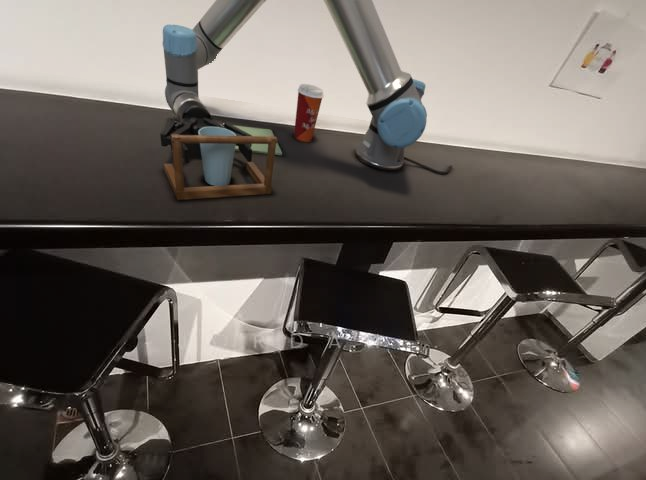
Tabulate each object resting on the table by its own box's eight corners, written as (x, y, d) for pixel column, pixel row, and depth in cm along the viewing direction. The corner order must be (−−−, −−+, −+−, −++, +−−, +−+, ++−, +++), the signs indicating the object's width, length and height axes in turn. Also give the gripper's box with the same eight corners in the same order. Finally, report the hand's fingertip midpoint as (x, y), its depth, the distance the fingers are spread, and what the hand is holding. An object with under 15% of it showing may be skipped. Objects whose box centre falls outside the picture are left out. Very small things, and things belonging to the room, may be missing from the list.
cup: (231, 192, 76) (232, 145, 68) (195, 184, 75) (193, 136, 68) (237, 177, 81) (239, 131, 74) (205, 170, 80) (203, 123, 73)
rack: (252, 168, 86) (256, 115, 77) (271, 193, 79) (278, 138, 70) (164, 171, 76) (157, 110, 67) (177, 200, 69) (172, 136, 61)
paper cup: (306, 145, 103) (315, 94, 94) (285, 135, 105) (293, 84, 96) (319, 139, 109) (329, 91, 99) (299, 130, 111) (307, 82, 101)
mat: (271, 131, 105) (271, 129, 105) (282, 155, 95) (282, 153, 94) (209, 124, 99) (209, 122, 98) (214, 149, 89) (214, 146, 88)
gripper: (241, 133, 93) (271, 171, 81) (139, 130, 81) (158, 174, 69) (242, 103, 87) (275, 139, 76) (134, 96, 76) (153, 137, 64)
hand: (219, 156), depth 73 cm, fingers open, 13 cm apart
